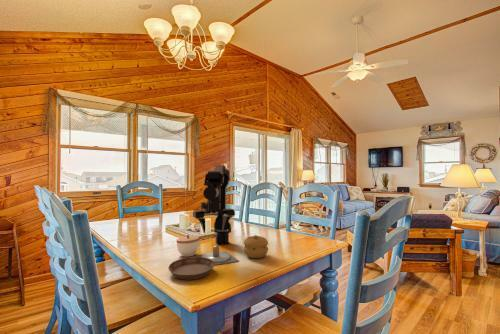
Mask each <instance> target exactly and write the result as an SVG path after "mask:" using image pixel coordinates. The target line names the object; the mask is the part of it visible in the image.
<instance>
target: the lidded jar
mask: <svg viewBox="0 0 500 334" xmlns="http://www.w3.org/2000/svg"><path fill="white" fill-rule="evenodd" d="M199 247H200V236H197V235H189V234H186V236H181V237H177V239H176V248H177V251H178V253H179V254H180V255H181V256H183V257H194V255H196V253H197V251H198V250H199Z"/></svg>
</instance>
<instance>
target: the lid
mask: <svg viewBox="0 0 500 334" xmlns="http://www.w3.org/2000/svg"><path fill="white" fill-rule="evenodd" d="M228 253H229V252H228ZM228 253H224V252H223V251H220V245H218V244H217V245H216V244H214V245H212V251H211V252H206V253H203V254H204V255H202V257H204V258H208V259H211V260H212V261H213V262H214V263H219V262H225V261H227V260H229V259H230V255H229V254H230V253H229V254H228Z"/></svg>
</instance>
